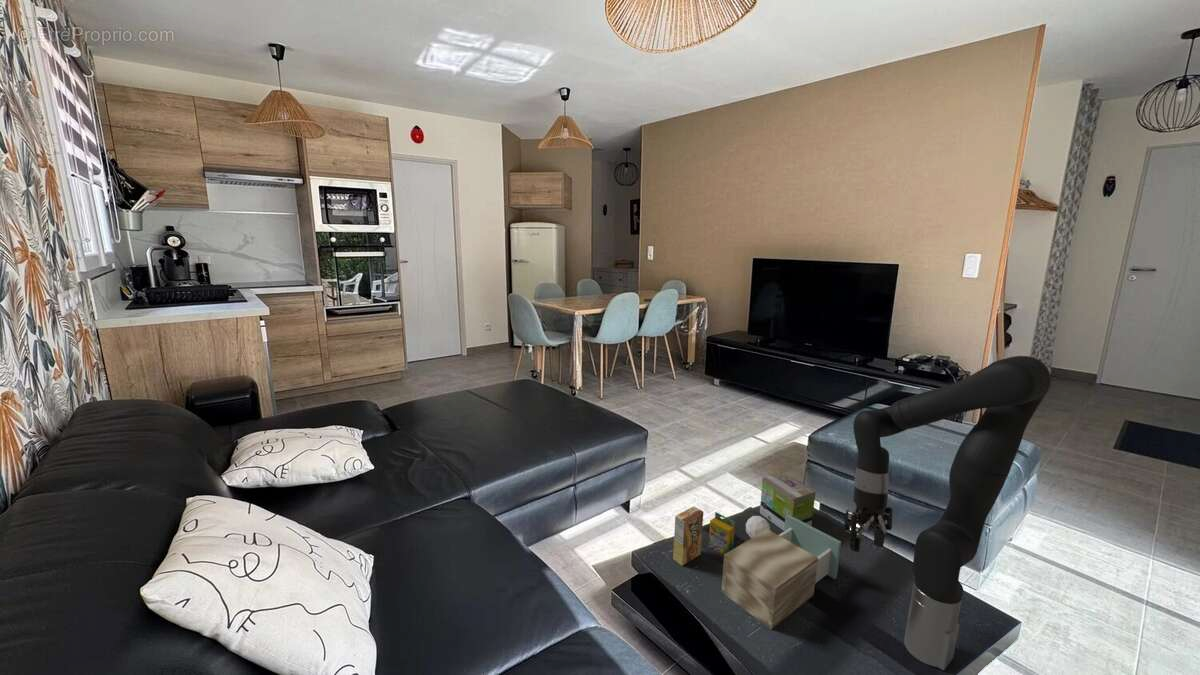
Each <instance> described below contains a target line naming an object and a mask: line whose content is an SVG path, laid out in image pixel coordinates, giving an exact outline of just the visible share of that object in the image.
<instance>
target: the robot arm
mask: <svg viewBox="0 0 1200 675" xmlns="http://www.w3.org/2000/svg"><path fill="white" fill-rule="evenodd" d="M1051 376H1052V375H1051V373H1050V371H1049V368H1048V367H1047V365H1046V364H1045V363H1043V361H1041V360H1040V359H1039V358H1035V357H1033V356H1028V355H1026V356H1025V355H1017V356H1011V357H1010V356H1009V357H1006V358H1001V359H998V360H996V361H993V362H991V363H990V364H989V365H986V366H985V367H984V368H981V369H980V370H978V371H977V372H975V373H973V374H971V375H969V376H967V377H965V378H963V379H961V380H959V381H956V382H954V383H951V384H947V385H945V386H942V387H939V388H935V389H931V390H927V391H923V392H920V393H917V394H913V395H910V396H907V397H905V398H902V399H899V400H897V401H895V402H893V403H892V404H891V405H888V406H886V407H883V408H877V409H865V410H861V411H860V412H858V413H857V415H856V416H855V417H854V421H853V434H854V440H855V444H856V448H857V460H856V468H855V469H856V470H855V474H854V484H853V485H854V486H853V487H854V488H853V502H854V503H855V505H856V507H855V509H854V510H853V511H852V510H850V509H847V510H846V511H845V516H844V525H843V526H844V527H843V533H844V534H846V535H848V536H849V549H850V550H851V551H853V552H855V553H859V552H860V548H861V536H862V535H863V533H864V532H865V533H866V532H867V530H868V528H871V527H874V529H875V530H874V534H873V544H874V546H876V547H879V548H883V547H884V544H885V534H887V531H891V530H892V529H893V508H892V507H890V506H888V499H889V484H890V480H889V478H890V477H889V466H890V452H889V451H888V449H886V448H885V447H883V446H882V445H881V444H882V443H881V438H884V437H885V438H887V437H891V436H894V435H897V434H900V433H902V432H906V431H907V430H909V429H915V428H919V427H923V426H926V425H929V424H933V423H936V422H937V423H938V422H940V421H942V420H944V419H945V420H946V419H948V418H951V417H954V416H956V415H959V414H962V413H967V412H971V411H975V410H981V409H982V410H983V409H984V412H983V413H982V415H981V416H980V418H979V419H978V420H977V421H976V423H975V424H974V425H973V427H972V428H971V429H970V431H969V432H968V433H967V435H966V436H965V438H964V439H963V440H962V442H960V445H959V447H958V449H957V451H956V453H955V456H954V458H953V462H952V464H951V466H950V469H949V475H948V480H949V481H948V482H949V499H948V503H947V506H946V508H945V509H944V512H943V514H942V516H941V517H940V519H939V520H938V522H936V523H935V524H934V525H932V526H930V527H928V528H926V529H924V530H922V531H921V532H920V533H918V536H917V538H916V541H915V545H914V552H913V562H912V571H913V572H912V574H913V576H914V581H913V586H912V591H911V599H910V603H909V608H908V609H909V610H908V615H907V620H906V621H907V622H906V625H905V626H906V627H905V632H904V639H903V642H904V646H905V648H906V650H907V651H908V652H909V654H910V655H912V657H914V658H915V659H917V660H918V661H919V662H921V663H923V664H925V665H928V666H930V667H935V668H938V669H940V670H942V671H946V669H947V667H948V665H950V664H951V661H952V660H953V659H954V654H955V651H956V647H957V646H956V645H957V640H958V636H959V629H960V623H958V620H959V614H960V610H961V606H962V600H963V596H964V588H963V587H964V586H963V585H962V583H961V582H960V574H961V573H960V572H961V569H962V567H964V566H965V565H967V564H968V563H970V562H971V561H972V560H973V559H974V558H975V557H976V554H977V553H978V549H979V546H980V541H981V537H982V535H983V534H982V533H983V531H984V526H985V523H986V521H987V517H988V515H989V514H990V512H991V510H992V509H993V507H994V505H995V503H996V501H997V499H998V497H999V495H1000V493H1001V492H1002V490H1003V488H1004V486H1005V483H1006V481H1007V479H1008V476H1009V474H1010V472H1011V470H1012V466H1013V465H1014V461H1015V459H1016V456H1017V453H1018V451H1019V449H1020V446H1021V443H1022V441H1023V440H1022V439H1023V437H1024V435H1025V431H1026V430H1027V429H1026V428H1027V427H1028V425H1029V422H1030V421H1031V419H1032V418H1033V416H1034V414H1035V412H1036V411H1037V409H1038V407H1039V406H1040V404H1041V402H1042V401H1043V399H1044V398H1045V396H1046V395H1047V394H1048V391H1049V389H1050V387H1051V383H1052V378H1051ZM858 523H859V524H858ZM857 529H858V530H857Z"/></svg>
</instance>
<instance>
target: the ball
mask: <svg viewBox="0 0 1200 675" xmlns="http://www.w3.org/2000/svg"><path fill="white" fill-rule="evenodd" d="M770 526H771V525H770V523H769V522H768V520H767V519H765V517H763V516H761V515H752V516H751V517H750V518H748V519H747V522H746V523H745V533H747V535H748V536H749V537H750V539H751V538H753V537H755V536H756V535H758V534H760V533H761V532H763V531H765V530H766V529H768V530H770V531H771V527H770Z"/></svg>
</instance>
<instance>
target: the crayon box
mask: <svg viewBox="0 0 1200 675" xmlns="http://www.w3.org/2000/svg"><path fill="white" fill-rule="evenodd" d="M714 513H715V514H714V517H713V518H711V519H710V521H709V533H708V534H709V536H708V548H711V549H712V550H713V551H716V552H717V553H719V554H721V555H722V556H724V554H726V553H728V552H729V551H731V550H733V549H734V539H735V524H736V522H735V521H734V520H733V519H731V518H728V517H726V516H724V515H722V514H721V513H719V512H717V511H715V512H714ZM724 519H725V520H724ZM726 520H727V521H726Z"/></svg>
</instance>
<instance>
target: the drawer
mask: <svg viewBox="0 0 1200 675" xmlns="http://www.w3.org/2000/svg"><path fill="white" fill-rule="evenodd" d="M778 535H779V536H781V537H782V538H784V539H786V540H788V541H789V542H791V543H793V544H795V545H797V546H798V547H800V548H802V549H804V550H805V551H807V552H809V553H811V554H812V555H814V556H816V557H818V562H817V571H816V579H815V584H817V583H818V582H820V580H822V579H823V578H824V577H826V576H828V577H830V578H831V579H833V580H835V579H836V578H837V576H838V569H839V562H840V555H841V554H840V553H841V546H842V541H841V540H839V539H837V538H835V537H833V536H832V535H829V534H827V533H825V532H823V531H821V530H820V529H817V528H815V527H813V526H812V525H811V526H810V525H808V524H806V523H804V522H802V521H800V520H798V519H796V518H794V517H792V516H790V515H788V514H787V515H786V516H785V526H784V531H783V532H781V533H780V534H778Z"/></svg>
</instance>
